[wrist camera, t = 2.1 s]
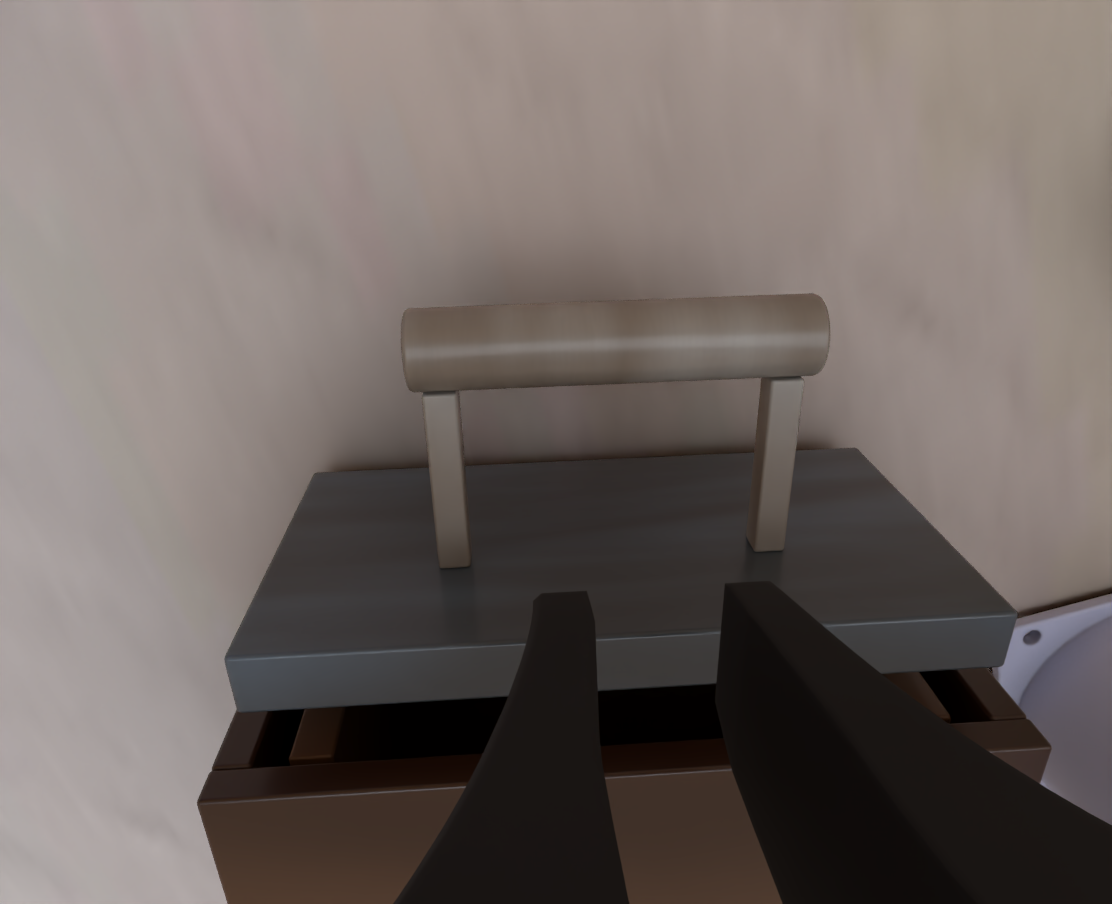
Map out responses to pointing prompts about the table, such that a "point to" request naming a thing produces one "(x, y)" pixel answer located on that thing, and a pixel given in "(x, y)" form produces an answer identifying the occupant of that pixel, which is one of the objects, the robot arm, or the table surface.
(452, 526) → the drawer
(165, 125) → the table surface
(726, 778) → the cabinet
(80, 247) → the table surface
